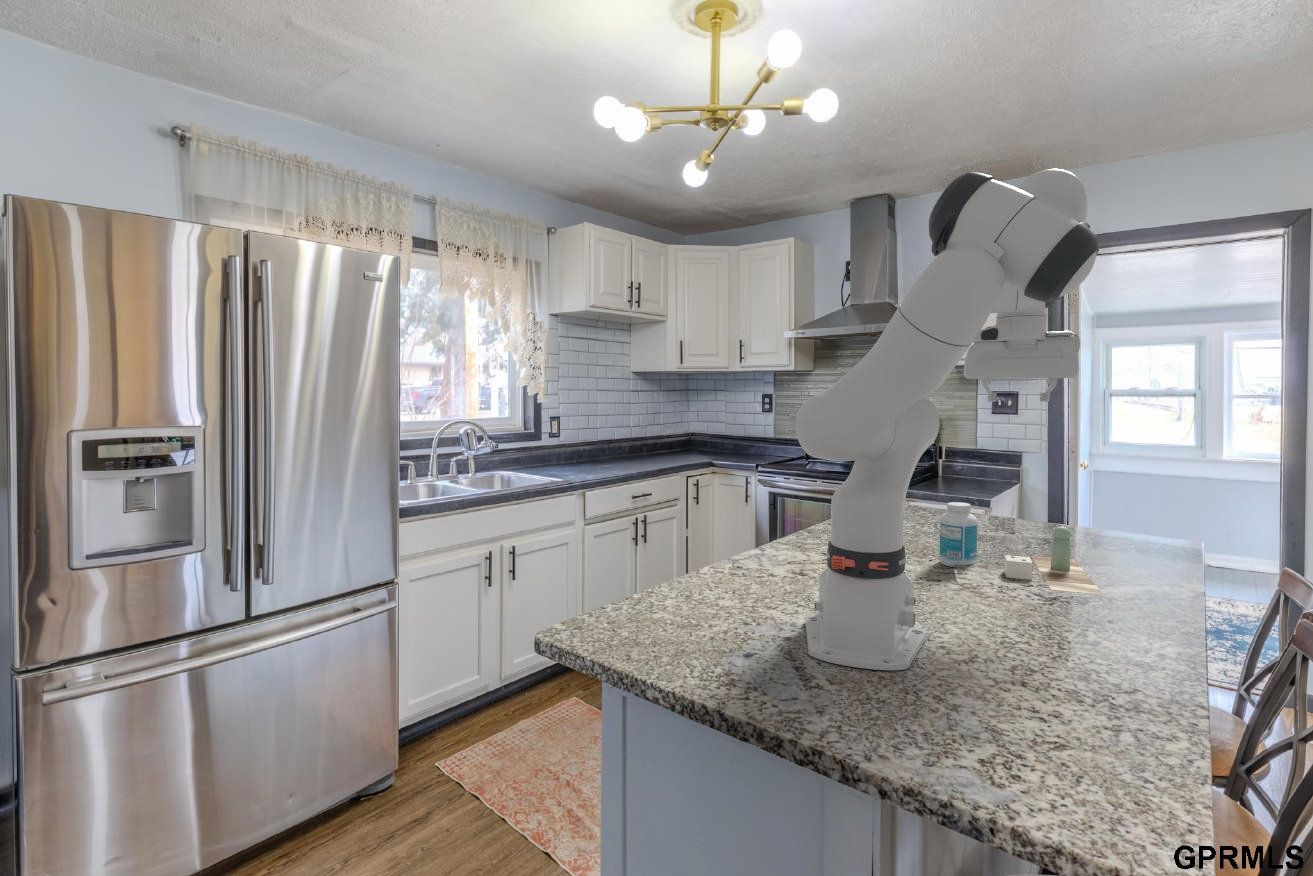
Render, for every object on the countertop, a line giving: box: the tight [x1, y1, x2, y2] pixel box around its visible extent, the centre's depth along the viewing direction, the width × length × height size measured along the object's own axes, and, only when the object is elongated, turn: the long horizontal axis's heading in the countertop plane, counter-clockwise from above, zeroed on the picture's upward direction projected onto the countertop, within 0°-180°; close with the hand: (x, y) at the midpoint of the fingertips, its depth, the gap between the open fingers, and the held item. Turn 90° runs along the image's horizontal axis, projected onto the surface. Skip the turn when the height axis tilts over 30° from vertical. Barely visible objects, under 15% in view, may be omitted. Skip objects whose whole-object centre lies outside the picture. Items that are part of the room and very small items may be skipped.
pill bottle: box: [939, 501, 978, 568], centre depth 144 cm, size 8×7×14 cm
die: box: [1003, 554, 1034, 581], centre depth 133 cm, size 4×4×5 cm
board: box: [1028, 555, 1104, 596], centre depth 134 cm, size 26×9×1 cm, turn 158°
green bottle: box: [1050, 525, 1072, 571], centre depth 137 cm, size 3×3×9 cm
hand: (1017, 401), depth 133 cm, fingers open, 8 cm apart
